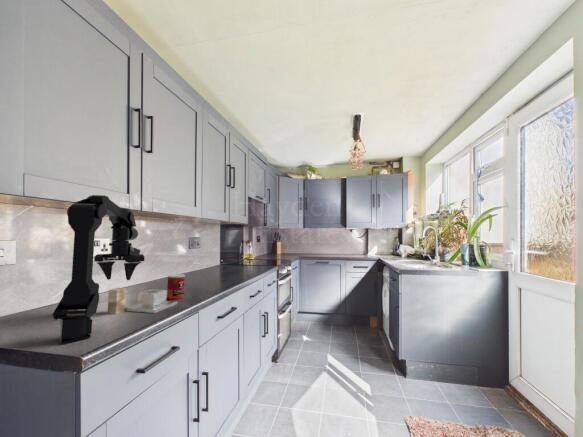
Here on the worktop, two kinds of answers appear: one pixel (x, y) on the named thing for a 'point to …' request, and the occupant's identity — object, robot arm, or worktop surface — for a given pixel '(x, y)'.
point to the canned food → (176, 286)
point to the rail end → (116, 300)
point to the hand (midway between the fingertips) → (118, 279)
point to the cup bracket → (151, 302)
